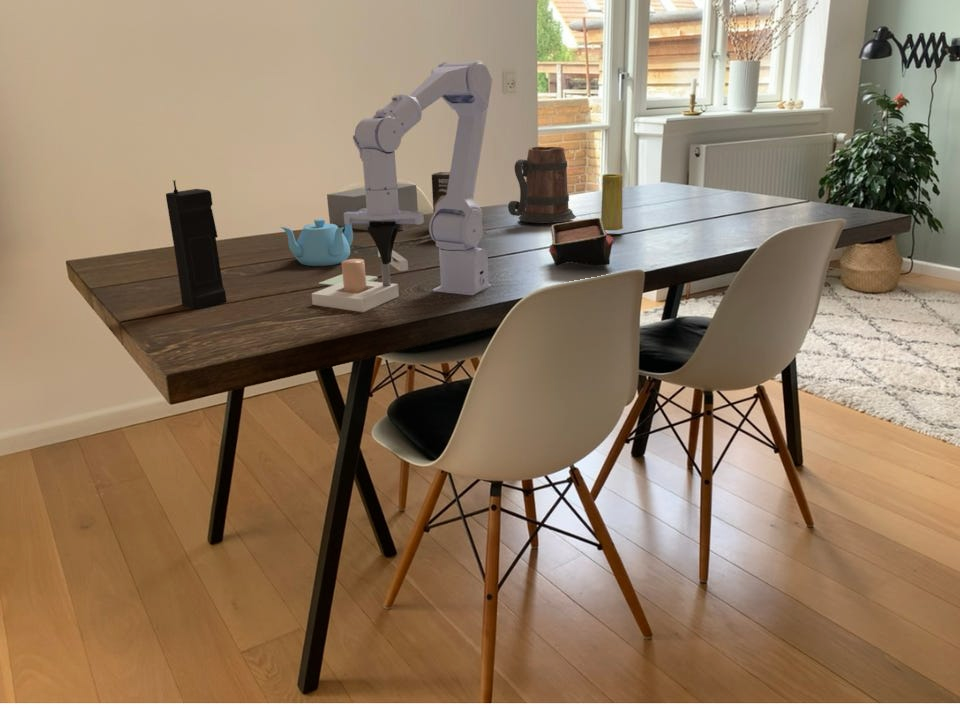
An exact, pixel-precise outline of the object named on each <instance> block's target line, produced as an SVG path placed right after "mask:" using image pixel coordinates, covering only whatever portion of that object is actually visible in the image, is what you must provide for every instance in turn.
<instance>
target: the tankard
mask: <svg viewBox="0 0 960 708" xmlns="http://www.w3.org/2000/svg"><path fill="white" fill-rule="evenodd" d="M567 170H568V160H567V158H566V154H565V148H564V147H561V146H534V147H529V148H528V152H527V158H526V159H518V160H516V161H515V164H514V173H515V177H516V179H517V181H518V185H519V189H520V190H519V192H520V197H519V201H517V200H511V201H509V202H508V205H507V208H508V213H509V214H510V215H512V216H517V217H518V220H520V221H522V222H526V223H528V222H529V223H537V224H538V223H540V224H543V223H546V224H547V223H550V224H551V223H560V222H561V223H563V222H569V221H573V220H574V219H576V215H575V214H574V213H573V210H572V209H571V208H569V201H570V194H569V191H568V174H567V173H568V171H567ZM525 178H526V179H525Z"/></svg>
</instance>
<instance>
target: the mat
mask: <svg viewBox="0 0 960 708" xmlns="http://www.w3.org/2000/svg"><path fill="white" fill-rule="evenodd" d="M378 279H379V276H375V275H374V276H373V275H366V281H372V282H375V281H376V280H378ZM341 282H343V274H342V273H341V274H339V275H336V276H334V277H331V278H328V279H325V280H324V281H323V280H322V281H320V282H318V285H323V286H329V287H330V286H333V285H335V284H338V283H341Z"/></svg>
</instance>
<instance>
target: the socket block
mask: <svg viewBox="0 0 960 708" xmlns="http://www.w3.org/2000/svg"><path fill="white" fill-rule="evenodd" d="M380 268H381V282H379V281H366V286H367V290H366V291H364V292H361V293H359V294H357V293H348V292H344V284H343V282H341V283H338V284H335V285H333V286H330V285H329V286H328V287H325V288H322V289H320V290H317V291H315V292H312V293H311V300H312V302H311V303H312V305H313V306H318V307H325V308H326V307H327V308H334V309H340V310H347V311H353V312H359V313H364V312H367V311H369V310H373V309H374V308H377V307H378V306H381V305H383V304H385V303H387V302H389V301H392V300H393V299H396V298H398V297H400V293H399V284H398V283H391V271H390V268H391V267H390V263H389V264H383V263H382V259H381V258H380Z"/></svg>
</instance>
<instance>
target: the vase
mask: <svg viewBox="0 0 960 708" xmlns="http://www.w3.org/2000/svg"><path fill="white" fill-rule="evenodd" d="M601 181H602V183H601V187H602V188H601V191H602V192H601V194H602V195H601V214H600V216H601V217H600V218H601V219H602V222H603V225H604V229H605V231H620V230H623V229H624V226H623V225H624V224H623V174H621V173H604V174H602V180H601Z"/></svg>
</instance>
